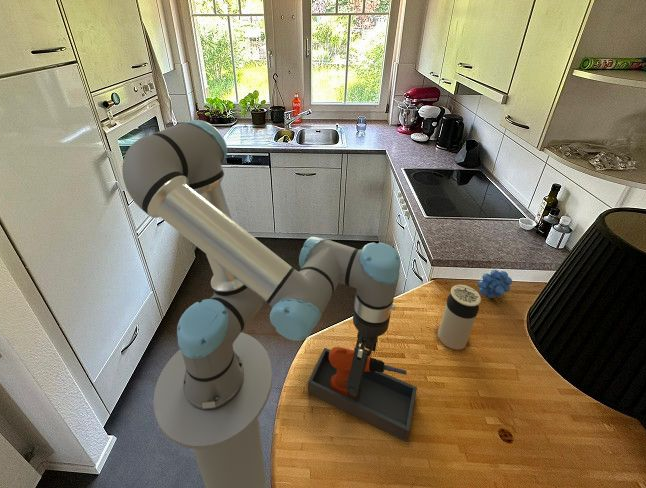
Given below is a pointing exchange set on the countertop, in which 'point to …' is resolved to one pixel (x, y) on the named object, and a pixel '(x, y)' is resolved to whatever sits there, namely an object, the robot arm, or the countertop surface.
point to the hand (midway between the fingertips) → (362, 371)
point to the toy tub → (369, 397)
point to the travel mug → (459, 316)
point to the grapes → (494, 283)
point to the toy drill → (343, 362)
